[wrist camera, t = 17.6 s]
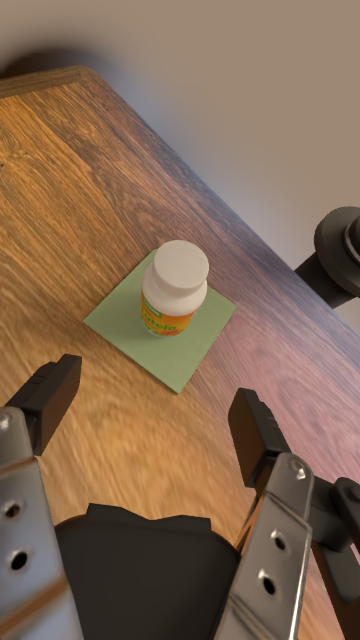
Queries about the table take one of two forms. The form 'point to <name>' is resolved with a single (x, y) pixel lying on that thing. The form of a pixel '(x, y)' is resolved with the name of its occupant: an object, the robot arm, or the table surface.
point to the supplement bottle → (173, 288)
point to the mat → (152, 351)
